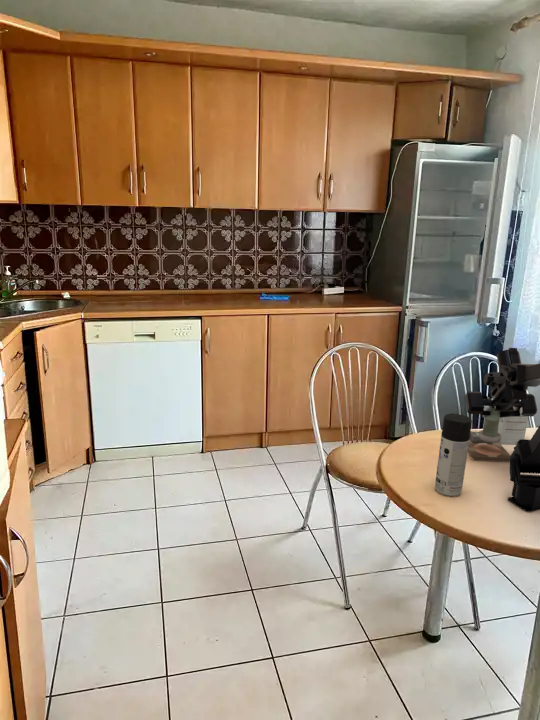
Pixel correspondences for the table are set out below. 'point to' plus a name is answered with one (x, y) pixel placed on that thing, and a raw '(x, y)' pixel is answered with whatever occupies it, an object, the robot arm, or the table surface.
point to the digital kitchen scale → (486, 450)
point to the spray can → (453, 454)
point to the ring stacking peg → (491, 428)
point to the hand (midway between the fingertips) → (490, 415)
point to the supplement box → (512, 429)
